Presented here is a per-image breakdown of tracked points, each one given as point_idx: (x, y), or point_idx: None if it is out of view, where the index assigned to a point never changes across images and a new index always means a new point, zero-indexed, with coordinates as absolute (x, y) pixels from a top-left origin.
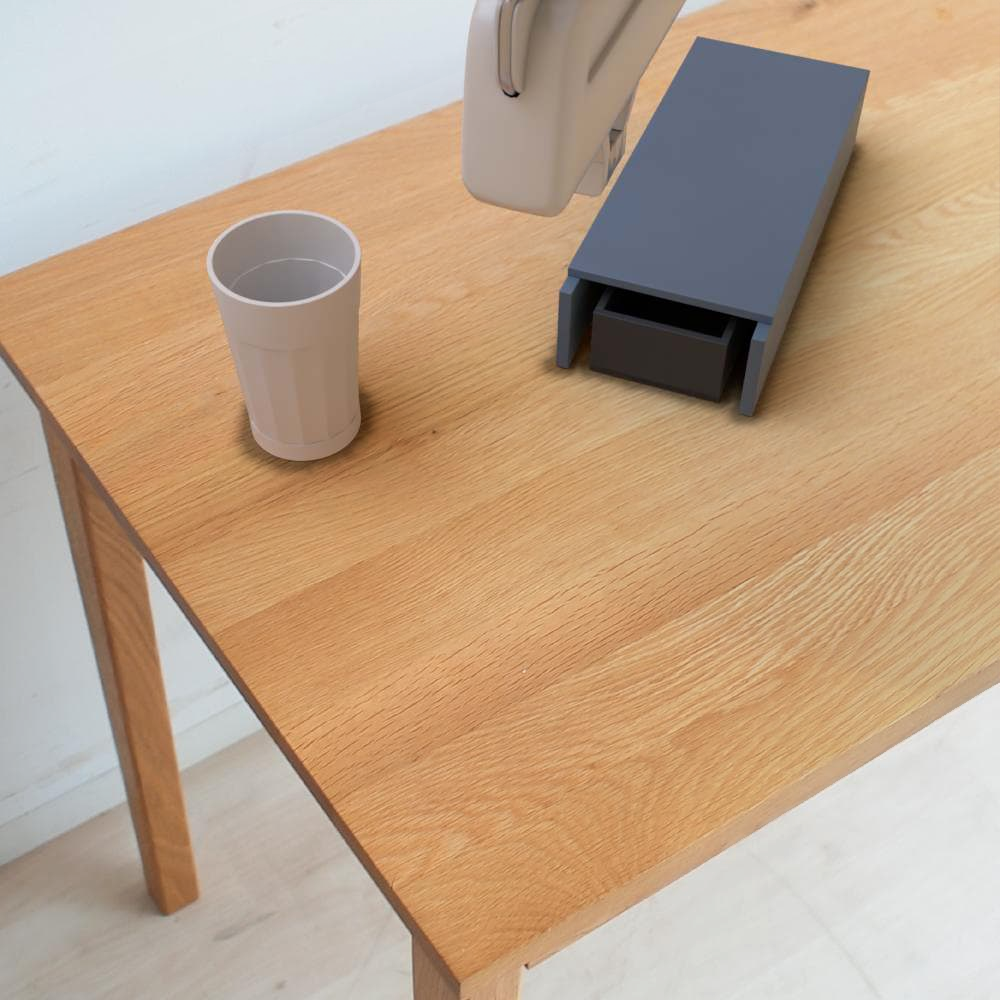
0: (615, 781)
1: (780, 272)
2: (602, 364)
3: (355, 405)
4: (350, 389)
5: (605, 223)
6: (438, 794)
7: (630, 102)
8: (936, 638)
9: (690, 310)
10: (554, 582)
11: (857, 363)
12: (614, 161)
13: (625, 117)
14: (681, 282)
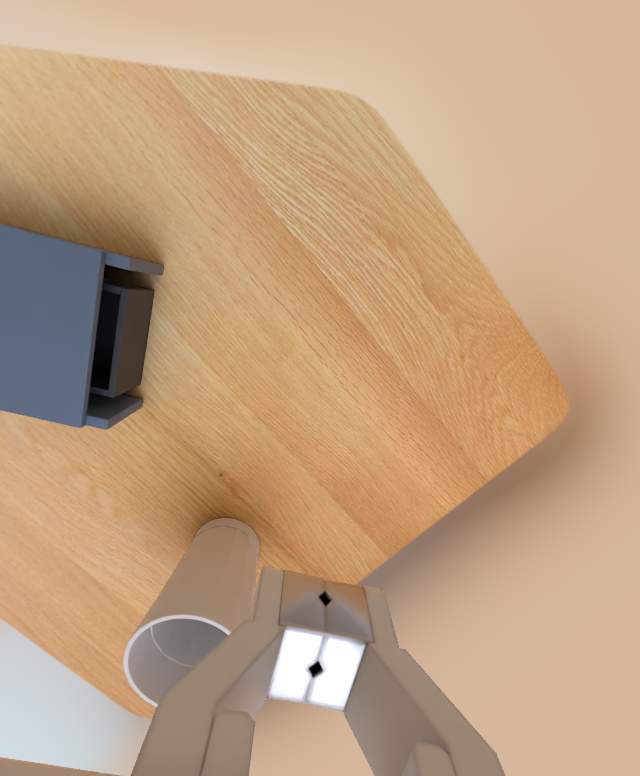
0: (471, 343)
1: (35, 243)
2: (138, 377)
3: (224, 531)
4: (226, 544)
5: (11, 402)
6: (482, 434)
7: (249, 668)
8: (354, 134)
9: None
10: (334, 389)
11: (83, 177)
12: (321, 595)
13: (270, 646)
14: (75, 333)
